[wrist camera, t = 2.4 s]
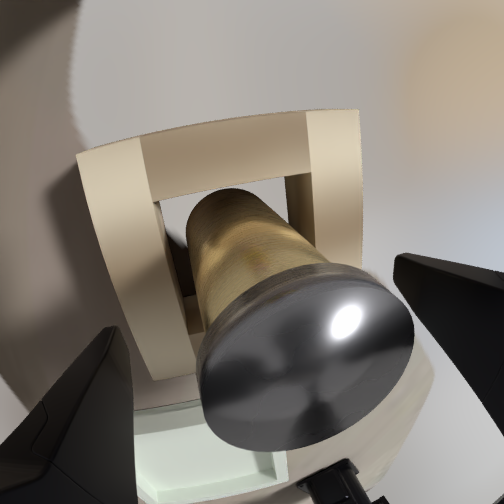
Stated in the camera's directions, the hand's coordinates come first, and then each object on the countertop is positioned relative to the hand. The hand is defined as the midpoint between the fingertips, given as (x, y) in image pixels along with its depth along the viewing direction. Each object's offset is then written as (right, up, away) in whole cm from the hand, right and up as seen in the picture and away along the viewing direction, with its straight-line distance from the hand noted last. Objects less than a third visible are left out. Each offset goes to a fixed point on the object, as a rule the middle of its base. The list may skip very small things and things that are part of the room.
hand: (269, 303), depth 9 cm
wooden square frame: (-1, +2, +5) cm, 6 cm away
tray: (-5, -14, +11) cm, 19 cm away
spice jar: (-1, +2, +5) cm, 6 cm away
